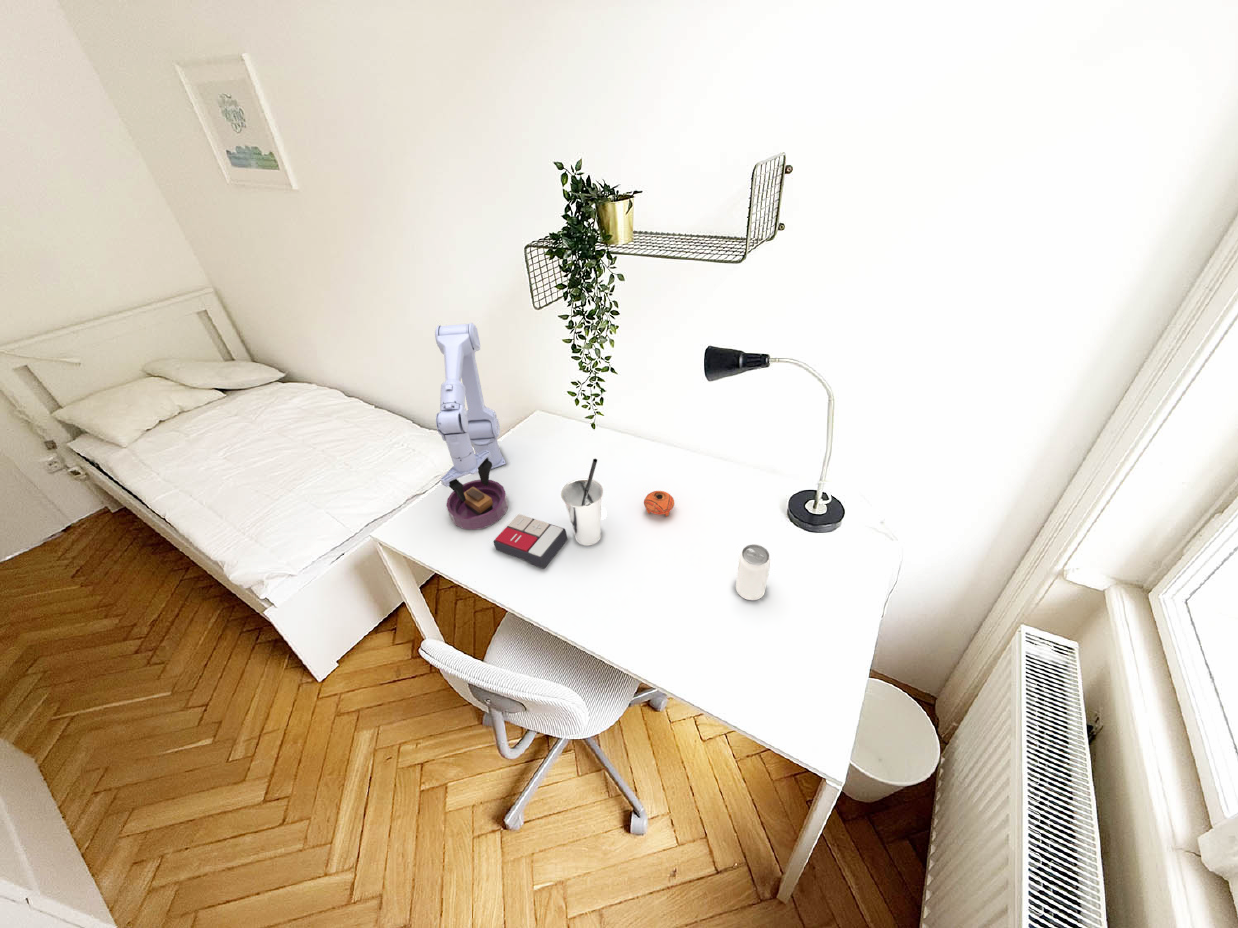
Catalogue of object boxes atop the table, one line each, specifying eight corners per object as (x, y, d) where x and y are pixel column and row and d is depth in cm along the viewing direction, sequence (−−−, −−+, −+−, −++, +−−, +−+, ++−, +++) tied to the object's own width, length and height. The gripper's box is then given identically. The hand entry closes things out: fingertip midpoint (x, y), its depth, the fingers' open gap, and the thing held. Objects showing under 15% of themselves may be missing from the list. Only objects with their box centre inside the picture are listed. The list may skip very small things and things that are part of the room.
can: (744, 573, 123) (749, 538, 115) (769, 587, 119) (776, 551, 112) (730, 592, 119) (734, 556, 111) (756, 606, 116) (762, 570, 108)
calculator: (518, 511, 138) (565, 526, 132) (521, 523, 141) (568, 538, 134) (491, 539, 131) (540, 556, 124) (495, 551, 134) (544, 569, 127)
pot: (645, 498, 144) (650, 480, 140) (672, 507, 144) (678, 489, 139) (638, 518, 138) (643, 499, 134) (666, 527, 137) (673, 509, 133)
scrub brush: (464, 507, 145) (459, 492, 142) (476, 498, 148) (472, 483, 144) (482, 519, 141) (477, 504, 138) (495, 510, 144) (490, 495, 140)
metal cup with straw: (607, 556, 129) (596, 461, 111) (563, 551, 131) (545, 457, 113) (615, 524, 138) (607, 431, 119) (574, 520, 140) (559, 428, 121)
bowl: (446, 502, 148) (441, 490, 145) (499, 484, 153) (496, 472, 150) (457, 538, 137) (452, 526, 134) (515, 518, 142) (511, 506, 139)
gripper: (447, 472, 126) (461, 513, 134) (494, 442, 134) (504, 482, 143) (430, 461, 130) (444, 502, 138) (476, 433, 138) (488, 473, 146)
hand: (474, 491), depth 141 cm, fingers open, 7 cm apart
